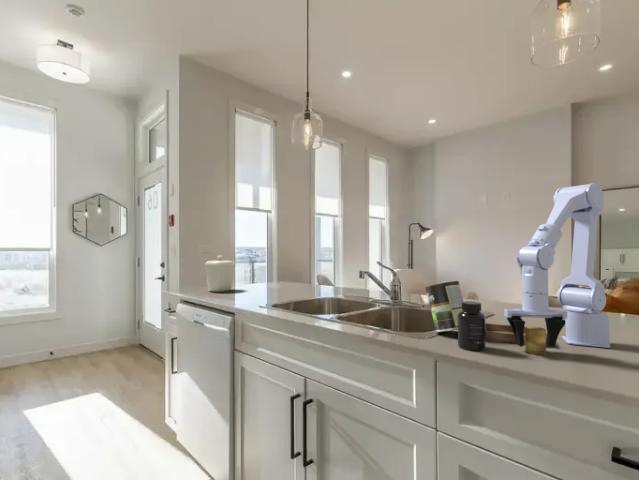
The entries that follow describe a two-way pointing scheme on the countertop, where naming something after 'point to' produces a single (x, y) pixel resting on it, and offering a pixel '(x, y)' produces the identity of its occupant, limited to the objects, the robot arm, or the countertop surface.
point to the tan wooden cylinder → (535, 340)
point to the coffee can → (445, 305)
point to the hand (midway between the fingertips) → (535, 345)
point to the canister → (219, 274)
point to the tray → (503, 333)
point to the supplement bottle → (471, 327)
